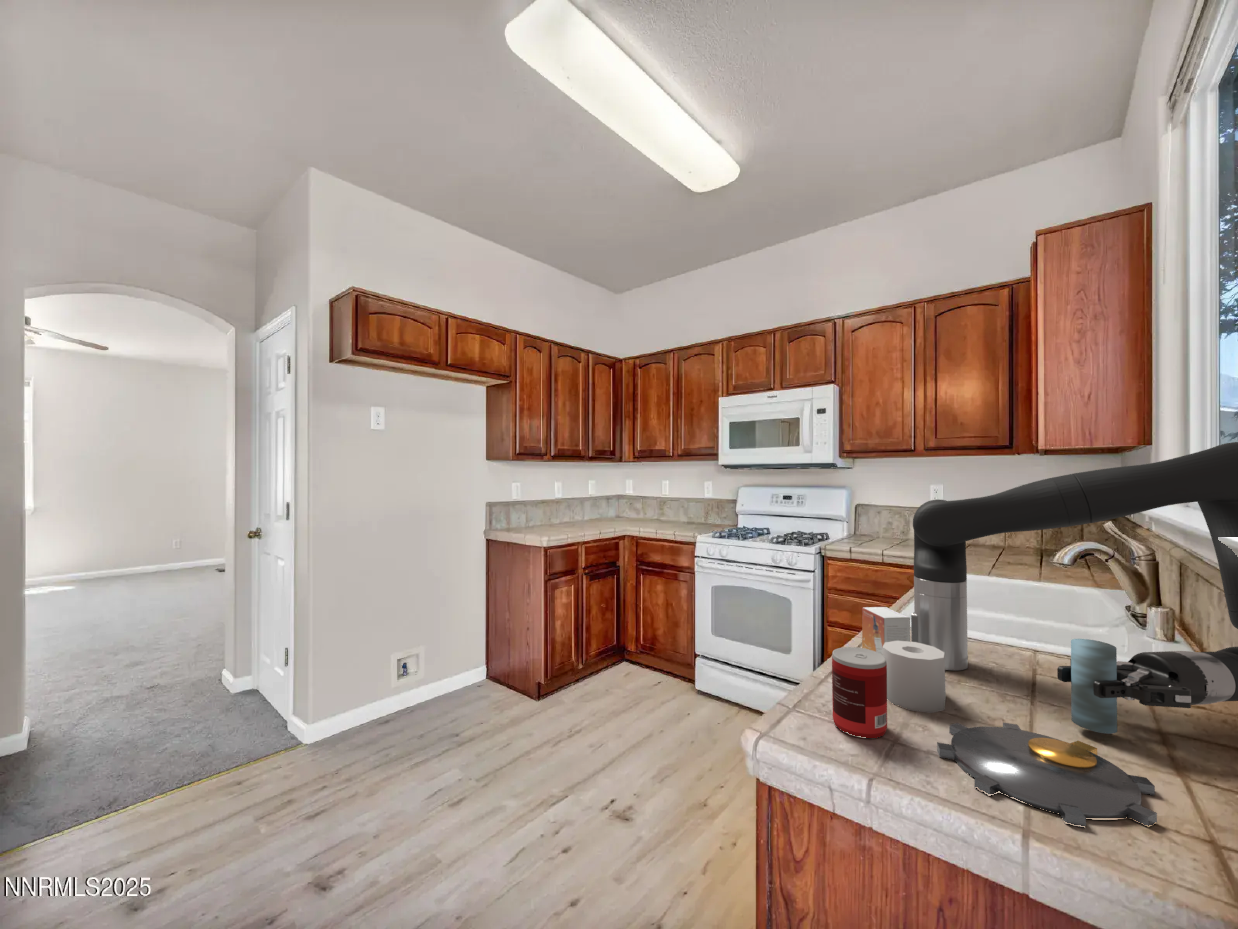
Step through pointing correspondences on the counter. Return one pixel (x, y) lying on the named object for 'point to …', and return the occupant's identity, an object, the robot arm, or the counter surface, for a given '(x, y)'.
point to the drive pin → (1086, 668)
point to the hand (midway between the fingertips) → (1077, 681)
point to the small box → (883, 627)
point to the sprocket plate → (1048, 773)
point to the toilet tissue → (915, 676)
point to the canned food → (859, 691)
